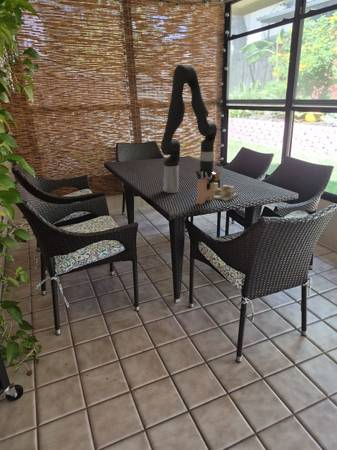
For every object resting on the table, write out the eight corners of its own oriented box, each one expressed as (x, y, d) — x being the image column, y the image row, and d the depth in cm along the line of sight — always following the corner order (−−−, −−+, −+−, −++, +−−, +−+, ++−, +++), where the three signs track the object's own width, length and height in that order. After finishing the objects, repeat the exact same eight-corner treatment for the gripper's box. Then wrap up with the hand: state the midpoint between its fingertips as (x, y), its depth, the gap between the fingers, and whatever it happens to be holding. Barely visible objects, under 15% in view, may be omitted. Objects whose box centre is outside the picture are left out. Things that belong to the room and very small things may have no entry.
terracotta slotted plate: (196, 203, 181) (197, 179, 175) (209, 198, 189) (210, 175, 183) (201, 204, 179) (201, 180, 173) (213, 199, 187) (214, 176, 181)
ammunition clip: (207, 189, 206) (208, 171, 201) (205, 189, 208) (206, 171, 203) (220, 187, 211) (220, 169, 206) (218, 186, 212) (219, 169, 208)
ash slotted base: (201, 195, 195) (201, 184, 192) (214, 190, 204) (214, 179, 201) (225, 201, 183) (226, 189, 180) (238, 195, 193) (239, 184, 190)
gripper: (192, 158, 176) (192, 188, 183) (213, 161, 167) (211, 192, 174) (200, 156, 181) (200, 185, 188) (221, 159, 172) (219, 189, 179)
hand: (205, 188), depth 181 cm, fingers closed on terracotta slotted plate, 3 cm apart
